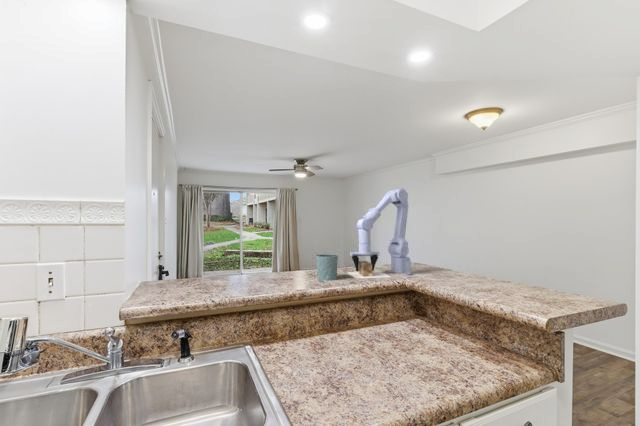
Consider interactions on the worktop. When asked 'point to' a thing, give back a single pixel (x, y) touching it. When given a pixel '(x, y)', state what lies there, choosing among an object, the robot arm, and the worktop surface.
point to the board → (374, 275)
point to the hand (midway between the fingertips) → (364, 270)
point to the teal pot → (327, 267)
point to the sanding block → (365, 268)
